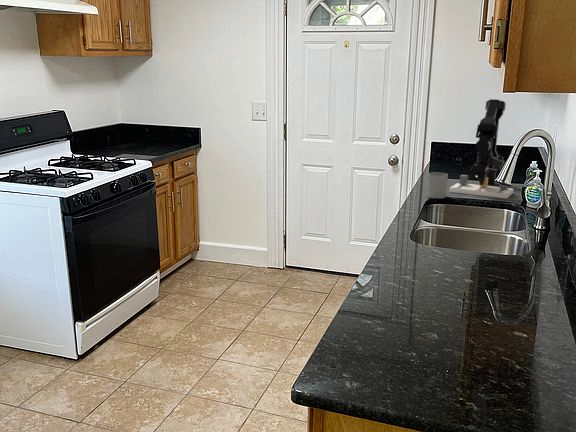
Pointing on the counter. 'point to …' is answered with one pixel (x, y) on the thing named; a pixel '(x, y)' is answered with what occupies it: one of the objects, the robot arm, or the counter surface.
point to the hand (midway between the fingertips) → (481, 184)
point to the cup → (437, 185)
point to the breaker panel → (481, 190)
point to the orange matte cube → (484, 183)
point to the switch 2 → (503, 187)
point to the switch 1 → (463, 179)
